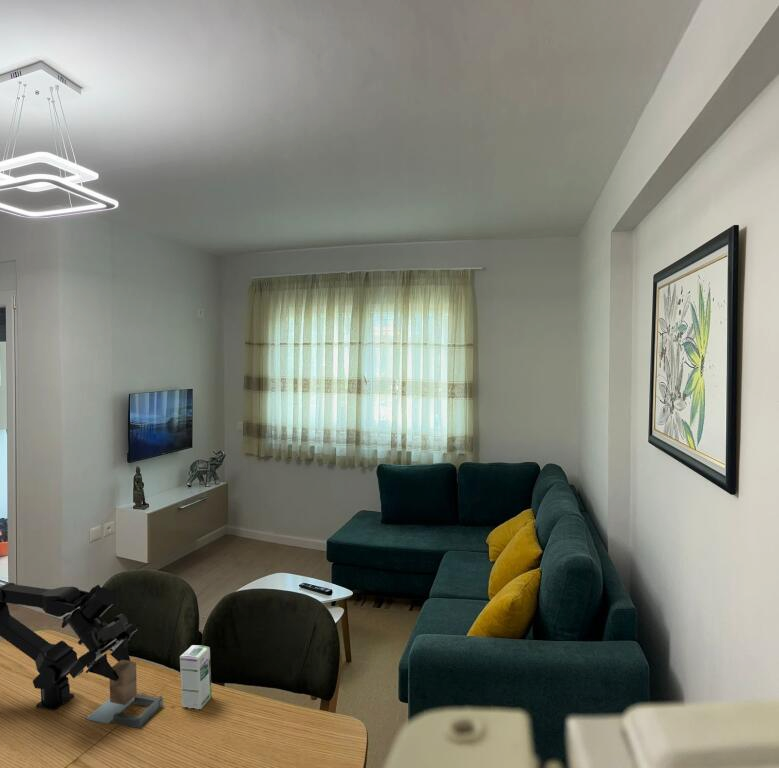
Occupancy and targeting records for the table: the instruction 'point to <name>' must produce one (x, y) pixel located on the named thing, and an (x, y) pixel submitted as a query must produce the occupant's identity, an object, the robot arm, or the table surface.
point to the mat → (108, 711)
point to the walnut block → (123, 682)
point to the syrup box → (195, 676)
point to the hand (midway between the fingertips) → (124, 674)
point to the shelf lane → (138, 721)
